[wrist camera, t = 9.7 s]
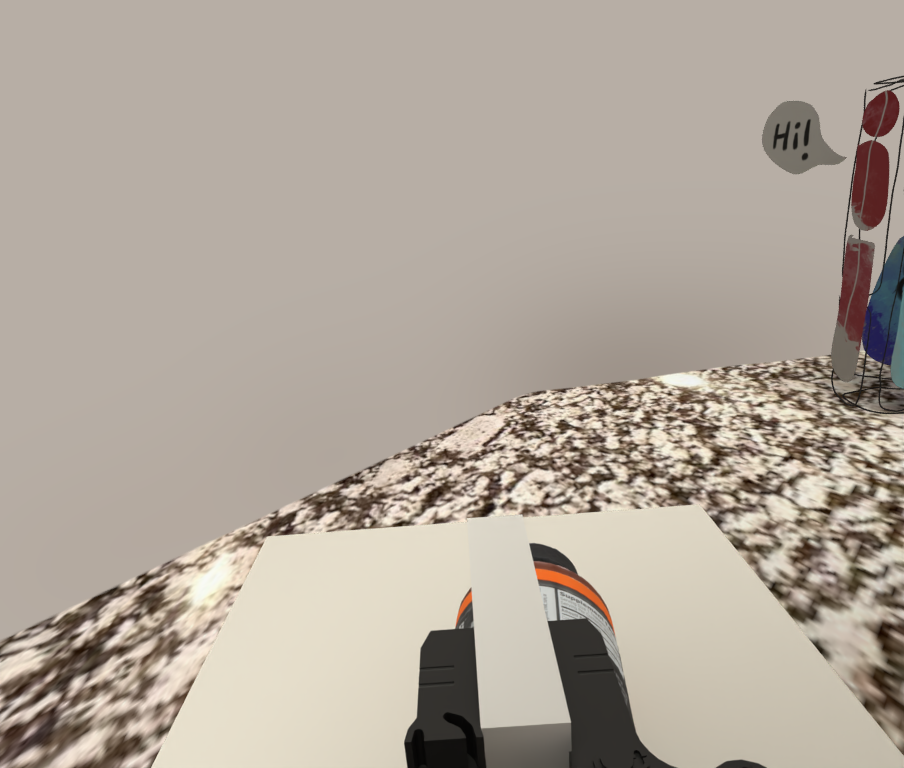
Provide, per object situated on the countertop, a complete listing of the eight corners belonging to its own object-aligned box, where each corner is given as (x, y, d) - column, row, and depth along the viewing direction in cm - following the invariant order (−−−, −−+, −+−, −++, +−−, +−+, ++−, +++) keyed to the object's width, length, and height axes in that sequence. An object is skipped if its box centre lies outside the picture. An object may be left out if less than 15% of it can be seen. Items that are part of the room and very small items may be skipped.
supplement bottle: (381, 883, 15) (437, 599, 26) (579, 980, 16) (554, 661, 26) (496, 737, 14) (505, 496, 24) (718, 852, 14) (630, 564, 25)
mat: (699, 510, 36) (699, 504, 36) (992, 878, 17) (994, 868, 17) (268, 542, 36) (267, 536, 36) (72, 941, 17) (68, 932, 17)
